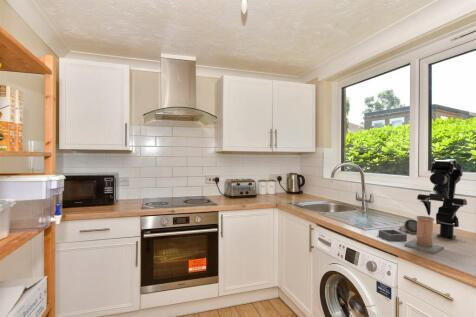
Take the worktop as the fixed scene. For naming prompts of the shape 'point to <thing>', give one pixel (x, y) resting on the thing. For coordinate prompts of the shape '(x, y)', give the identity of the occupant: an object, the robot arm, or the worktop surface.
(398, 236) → the holder
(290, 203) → the worktop surface
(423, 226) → the peach rounded cylinder
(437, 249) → the mat
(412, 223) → the ceramic mug
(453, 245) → the worktop surface
